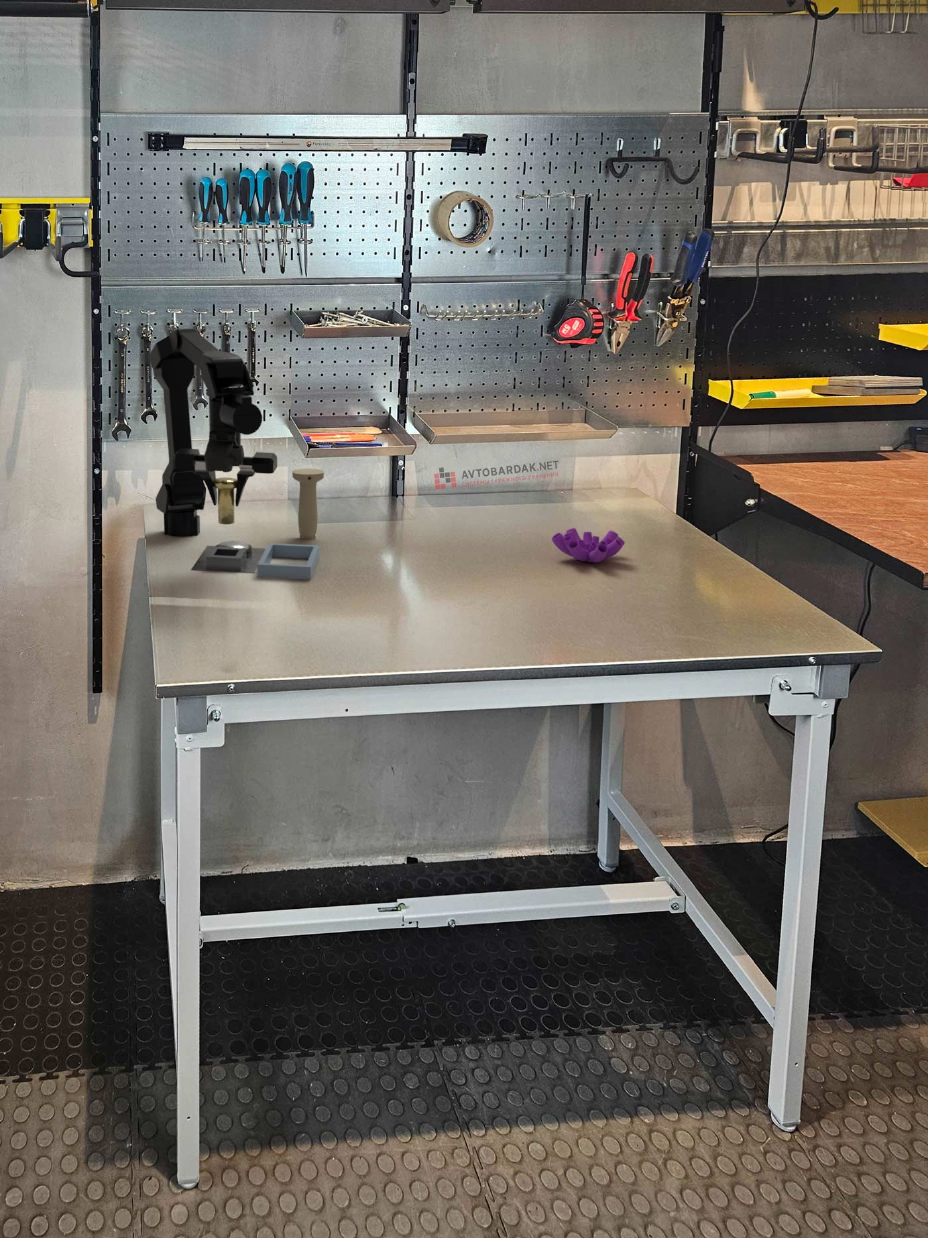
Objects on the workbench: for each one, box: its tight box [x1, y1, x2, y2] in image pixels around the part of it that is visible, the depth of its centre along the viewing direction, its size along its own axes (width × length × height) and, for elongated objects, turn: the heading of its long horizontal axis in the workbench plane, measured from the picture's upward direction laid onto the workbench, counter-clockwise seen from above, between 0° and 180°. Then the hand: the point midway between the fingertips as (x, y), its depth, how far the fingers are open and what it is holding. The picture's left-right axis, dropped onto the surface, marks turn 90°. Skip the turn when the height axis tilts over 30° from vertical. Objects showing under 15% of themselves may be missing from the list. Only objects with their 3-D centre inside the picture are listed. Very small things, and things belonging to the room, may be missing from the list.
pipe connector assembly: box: [551, 527, 626, 563], centre depth 268 cm, size 11×15×10 cm
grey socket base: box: [190, 540, 266, 574], centre depth 255 cm, size 12×16×4 cm
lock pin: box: [214, 477, 237, 525], centre depth 248 cm, size 4×4×8 cm
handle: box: [291, 468, 325, 540], centre depth 270 cm, size 5×6×15 cm
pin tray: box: [256, 542, 320, 580], centre depth 253 cm, size 10×14×4 cm
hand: (226, 505), depth 248 cm, fingers closed on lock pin, 4 cm apart
